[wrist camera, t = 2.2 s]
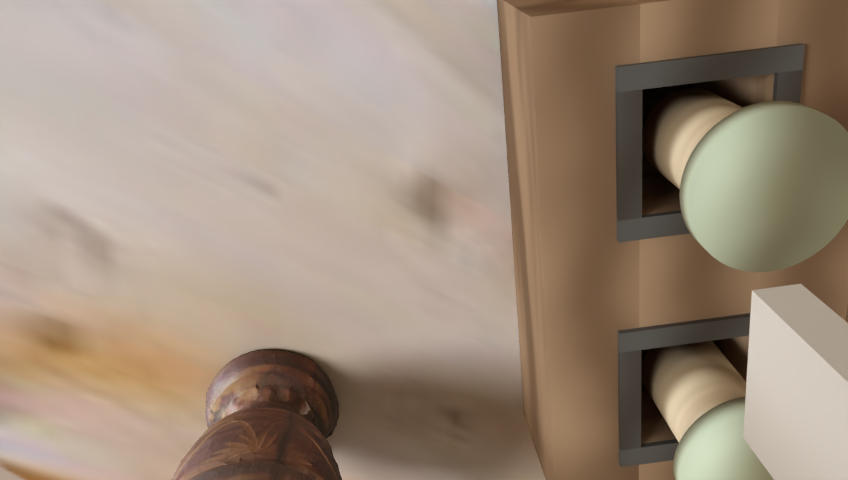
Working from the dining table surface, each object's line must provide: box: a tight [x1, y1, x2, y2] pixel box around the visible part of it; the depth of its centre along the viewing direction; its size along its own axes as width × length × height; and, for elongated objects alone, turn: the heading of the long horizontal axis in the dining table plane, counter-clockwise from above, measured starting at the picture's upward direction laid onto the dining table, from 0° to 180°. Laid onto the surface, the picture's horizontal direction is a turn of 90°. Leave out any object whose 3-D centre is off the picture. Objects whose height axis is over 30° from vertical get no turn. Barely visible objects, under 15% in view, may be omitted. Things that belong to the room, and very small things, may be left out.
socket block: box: [497, 0, 848, 480], centre depth 38 cm, size 14×24×8 cm, turn 6°
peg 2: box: [641, 341, 774, 480], centre depth 35 cm, size 6×6×8 cm
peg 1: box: [642, 88, 848, 272], centre depth 31 cm, size 6×6×8 cm
